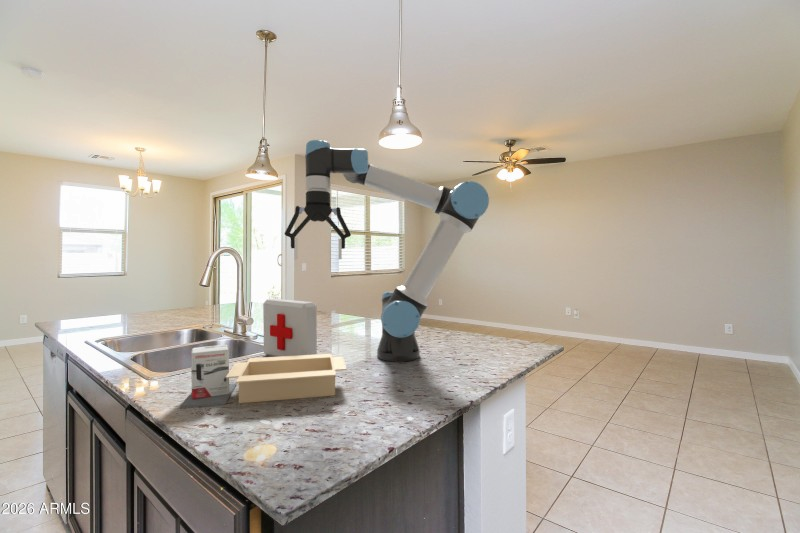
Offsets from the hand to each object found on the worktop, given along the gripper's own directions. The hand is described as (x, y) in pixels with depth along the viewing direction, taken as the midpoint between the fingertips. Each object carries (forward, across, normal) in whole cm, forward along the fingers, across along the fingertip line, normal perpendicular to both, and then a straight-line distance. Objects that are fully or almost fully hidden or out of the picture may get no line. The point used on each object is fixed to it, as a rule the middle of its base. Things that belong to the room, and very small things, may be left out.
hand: (318, 259), depth 119 cm
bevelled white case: (+35, +10, -14) cm, 39 cm away
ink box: (+34, +27, +18) cm, 47 cm away
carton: (+35, +8, +18) cm, 40 cm away
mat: (+35, +28, +18) cm, 48 cm away
